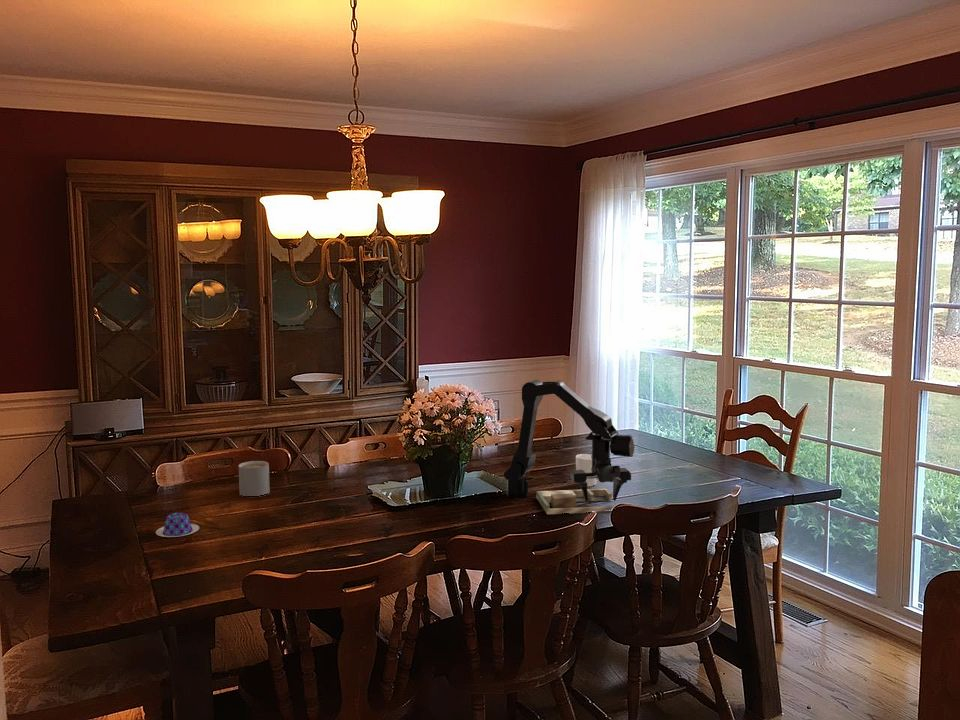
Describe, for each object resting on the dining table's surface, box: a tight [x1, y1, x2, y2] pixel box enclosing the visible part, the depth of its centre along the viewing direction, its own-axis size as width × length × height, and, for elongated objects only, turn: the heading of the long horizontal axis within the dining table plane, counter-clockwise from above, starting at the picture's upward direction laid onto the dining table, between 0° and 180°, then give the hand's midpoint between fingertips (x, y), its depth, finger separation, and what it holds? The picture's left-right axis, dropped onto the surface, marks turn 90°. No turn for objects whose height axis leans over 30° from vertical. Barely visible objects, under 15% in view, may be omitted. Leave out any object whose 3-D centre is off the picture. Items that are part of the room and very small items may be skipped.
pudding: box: [155, 512, 200, 538], centre depth 234 cm, size 12×12×5 cm
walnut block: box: [550, 494, 577, 509], centre depth 256 cm, size 7×5×4 cm
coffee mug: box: [238, 460, 271, 497], centre depth 274 cm, size 13×10×10 cm
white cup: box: [575, 453, 597, 487], centre depth 282 cm, size 8×8×10 cm
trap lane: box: [536, 488, 615, 515], centre depth 258 cm, size 24×17×2 cm
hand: (600, 501), depth 256 cm, fingers open, 9 cm apart
